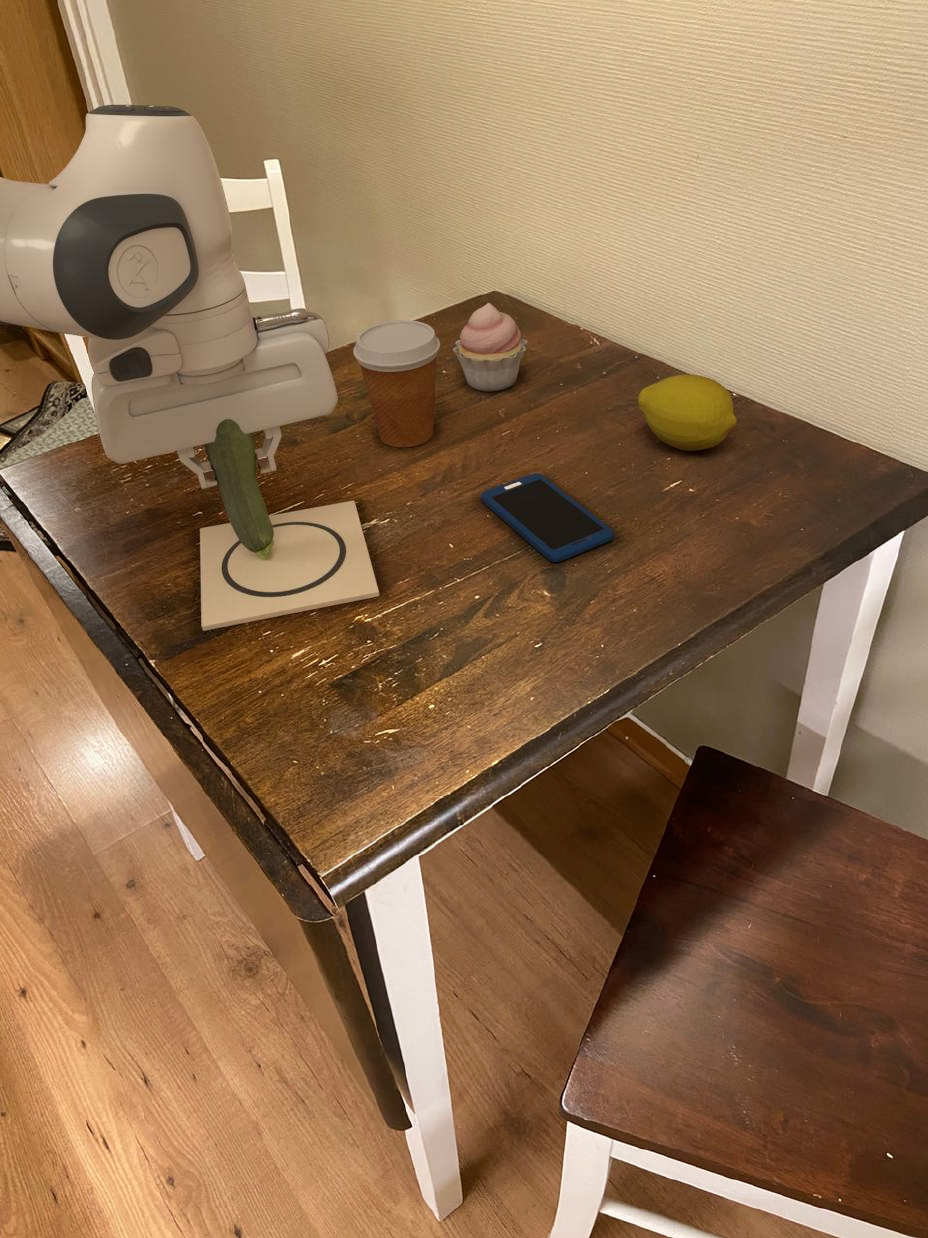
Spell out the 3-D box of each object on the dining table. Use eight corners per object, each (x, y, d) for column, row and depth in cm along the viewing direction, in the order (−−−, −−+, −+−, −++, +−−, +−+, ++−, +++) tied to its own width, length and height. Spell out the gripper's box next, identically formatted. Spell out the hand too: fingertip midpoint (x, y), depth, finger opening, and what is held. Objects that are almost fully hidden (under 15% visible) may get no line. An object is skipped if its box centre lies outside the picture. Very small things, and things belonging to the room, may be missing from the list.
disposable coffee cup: (351, 447, 102) (335, 348, 94) (389, 410, 108) (377, 314, 101) (425, 460, 99) (415, 358, 91) (460, 421, 105) (453, 323, 97)
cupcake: (538, 369, 114) (537, 292, 108) (513, 401, 108) (511, 322, 101) (471, 361, 117) (467, 286, 111) (444, 392, 111) (437, 314, 104)
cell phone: (537, 476, 94) (536, 470, 94) (617, 539, 85) (617, 532, 84) (478, 498, 92) (477, 492, 91) (554, 565, 82) (554, 559, 82)
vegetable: (230, 562, 85) (168, 366, 72) (253, 536, 88) (196, 344, 75) (271, 568, 84) (214, 370, 71) (292, 542, 87) (241, 347, 74)
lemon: (746, 444, 97) (757, 376, 92) (710, 475, 93) (720, 405, 87) (661, 417, 103) (666, 352, 98) (623, 445, 98) (627, 378, 93)
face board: (203, 631, 78) (200, 625, 78) (201, 532, 90) (199, 526, 90) (379, 596, 81) (378, 590, 80) (355, 504, 93) (354, 498, 92)
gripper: (313, 291, 76) (338, 434, 85) (68, 341, 71) (122, 488, 80) (332, 316, 72) (357, 464, 81) (72, 371, 66) (129, 523, 75)
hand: (238, 476), depth 80 cm, fingers closed on vegetable, 4 cm apart
